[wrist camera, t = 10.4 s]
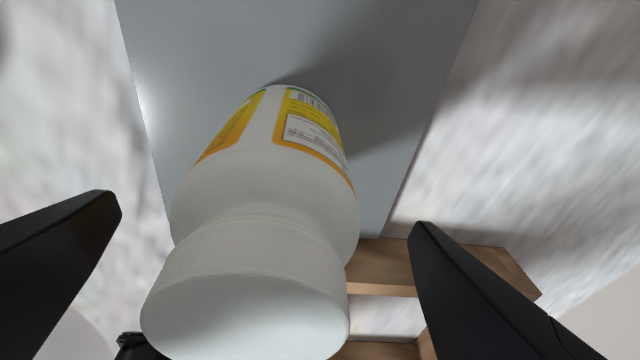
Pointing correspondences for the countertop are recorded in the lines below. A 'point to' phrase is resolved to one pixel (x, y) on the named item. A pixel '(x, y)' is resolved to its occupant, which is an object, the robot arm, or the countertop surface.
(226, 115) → the slate tile
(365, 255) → the wooden square frame
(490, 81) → the countertop surface
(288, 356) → the supplement bottle
